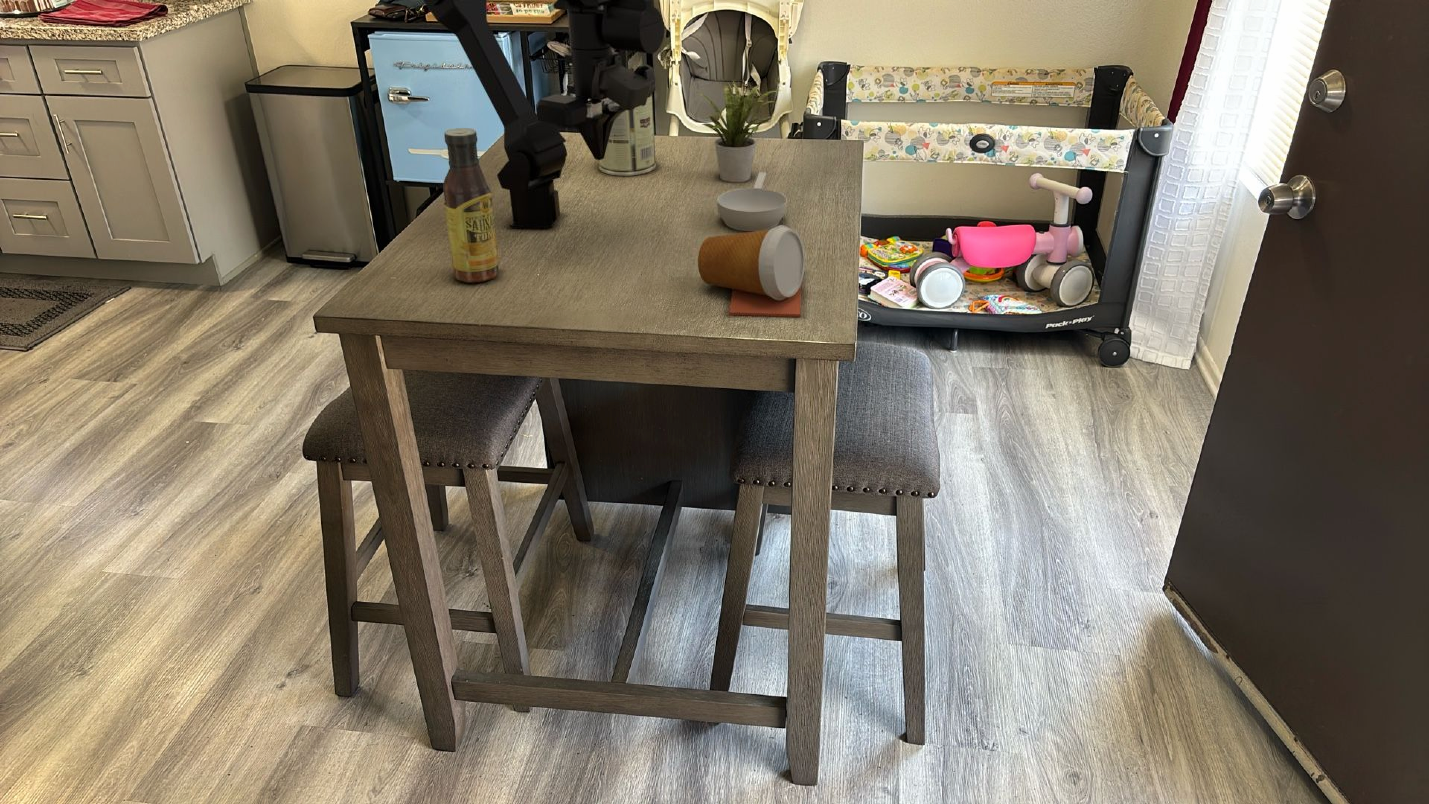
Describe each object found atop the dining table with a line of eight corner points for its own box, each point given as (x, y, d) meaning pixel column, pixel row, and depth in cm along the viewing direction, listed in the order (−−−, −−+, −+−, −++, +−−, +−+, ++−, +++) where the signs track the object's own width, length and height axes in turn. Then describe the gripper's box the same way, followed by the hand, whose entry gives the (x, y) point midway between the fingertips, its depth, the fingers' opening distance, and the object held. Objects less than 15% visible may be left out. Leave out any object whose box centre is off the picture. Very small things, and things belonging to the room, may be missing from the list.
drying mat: (729, 315, 125) (729, 312, 125) (736, 270, 137) (736, 268, 137) (800, 317, 124) (800, 314, 124) (801, 272, 136) (801, 269, 136)
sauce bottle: (477, 288, 132) (456, 141, 122) (444, 279, 135) (421, 134, 125) (511, 272, 137) (493, 129, 127) (477, 263, 140) (458, 122, 130)
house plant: (799, 179, 170) (803, 83, 162) (739, 197, 163) (740, 97, 154) (744, 161, 180) (745, 68, 171) (685, 176, 172) (683, 81, 164)
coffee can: (609, 157, 182) (604, 78, 175) (662, 160, 180) (660, 81, 173) (590, 174, 174) (584, 92, 167) (646, 178, 172) (643, 95, 165)
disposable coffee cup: (709, 310, 133) (788, 316, 127) (682, 262, 126) (764, 265, 120) (735, 259, 137) (813, 261, 131) (710, 209, 130) (791, 209, 124)
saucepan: (711, 231, 150) (711, 207, 148) (730, 192, 165) (730, 170, 163) (782, 235, 148) (782, 211, 146) (794, 196, 163) (795, 173, 161)
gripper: (594, 65, 123) (603, 187, 131) (679, 40, 137) (682, 151, 145) (527, 56, 128) (539, 173, 136) (615, 32, 142) (621, 140, 150)
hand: (599, 159), depth 142 cm, fingers closed
